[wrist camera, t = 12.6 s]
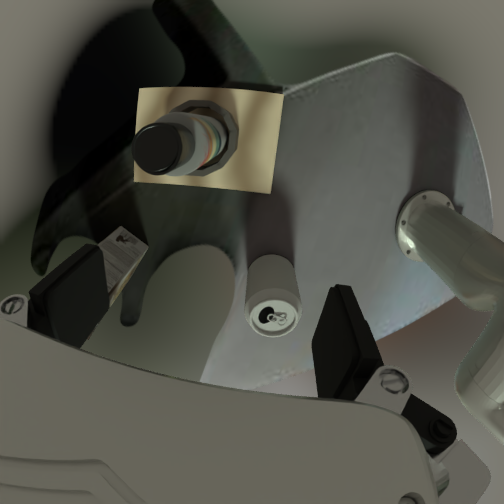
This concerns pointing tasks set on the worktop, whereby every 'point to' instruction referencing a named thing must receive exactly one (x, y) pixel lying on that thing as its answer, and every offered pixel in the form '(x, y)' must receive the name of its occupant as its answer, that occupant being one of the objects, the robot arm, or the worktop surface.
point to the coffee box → (120, 260)
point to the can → (272, 296)
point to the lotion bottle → (178, 143)
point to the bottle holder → (238, 129)
